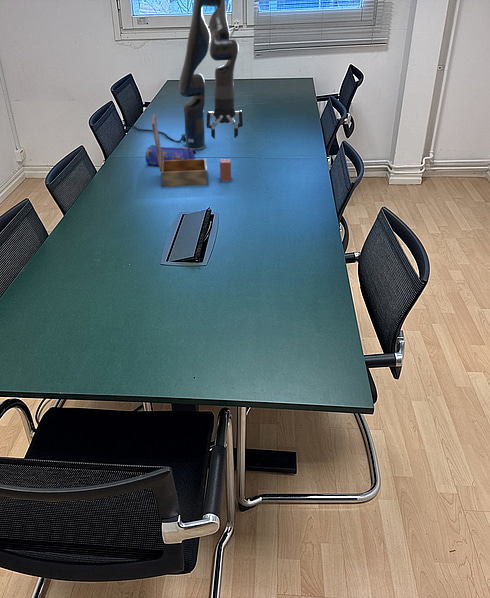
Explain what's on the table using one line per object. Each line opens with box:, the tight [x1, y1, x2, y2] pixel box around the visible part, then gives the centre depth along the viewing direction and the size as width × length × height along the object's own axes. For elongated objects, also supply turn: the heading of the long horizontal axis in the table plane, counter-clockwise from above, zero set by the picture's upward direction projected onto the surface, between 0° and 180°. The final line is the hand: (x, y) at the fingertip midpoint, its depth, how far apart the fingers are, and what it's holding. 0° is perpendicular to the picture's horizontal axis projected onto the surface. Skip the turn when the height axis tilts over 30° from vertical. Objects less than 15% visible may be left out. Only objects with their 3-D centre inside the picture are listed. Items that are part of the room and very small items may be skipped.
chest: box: [160, 158, 209, 188], centre depth 229 cm, size 19×14×7 cm
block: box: [219, 158, 232, 182], centre depth 228 cm, size 4×4×8 cm
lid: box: [151, 113, 163, 173], centre depth 221 cm, size 19×14×1 cm
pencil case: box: [145, 144, 197, 166], centre depth 242 cm, size 22×9×10 cm, turn 71°
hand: (224, 137), depth 220 cm, fingers open, 8 cm apart
